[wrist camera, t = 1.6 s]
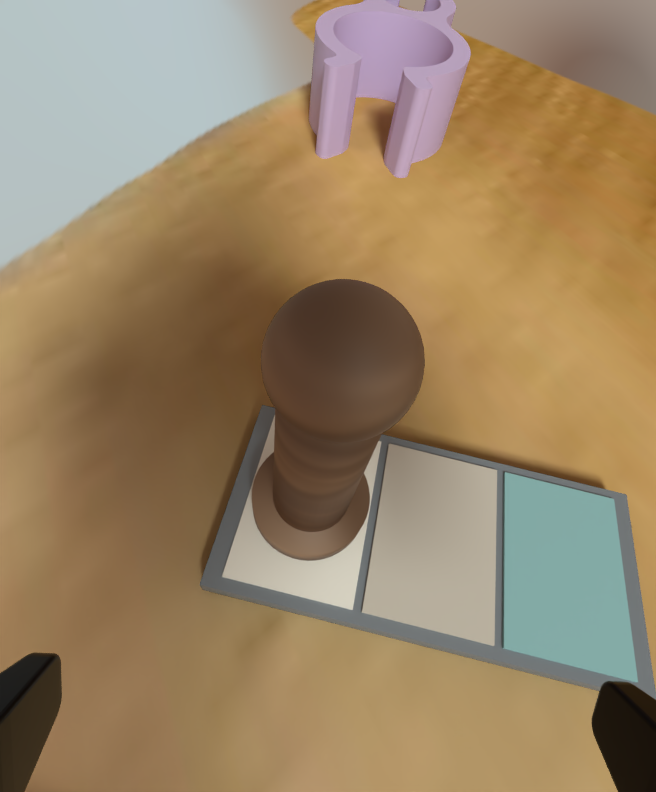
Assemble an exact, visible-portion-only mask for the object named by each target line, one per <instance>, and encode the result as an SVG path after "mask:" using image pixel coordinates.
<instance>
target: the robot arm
mask: <svg viewBox="0 0 656 792" xmlns="http://www.w3.org/2000/svg"><path fill="white" fill-rule="evenodd" d="M61 698H62V686H61V660H60V657H59V656H58V655H57V654H54V653H31V654H29V655H27V656H25V657H24V658H22V659H21V660H19V661H18V662H16V663H15V664H13V665H12V666H10V667H9V668H7V669H6V670H4V671H3V672H1V673H0V792H24V791H25V789H26V787H27V784H28V782H29V780H30V777H31V775H32V773H33V770H34V768H35V766H36V763H37V761H38V759H39V756H40V754H41V752H42V749H43V747H44V745H45V742H46V740H47V738H48V735H49V733H50V731H51V728H52V726H53V724H54V721H55V719H56V717H57V714H58V711H59V708H60V704H61ZM592 729H593V733H594V736H595V739H596V741H597V744H598V746H599V748H600V751H601V753H602V755H603V758H604V760H605V762H606V765H607V767H608V769H609V772H610V774H611V776H612V779H613V781H614V783H615V786H616V788H617V790H618V792H656V700H655V699H654V698H653V697H651V696H650V695H648V694H647V693H645V692H644V691H642V690H641V689H639V688H638V687H636V686H635V685H633V684H632V683H629V682H625V681H605V682H604V683H603V684H602V685H601V688H600V691H599V695H598V698H597V702H596V705H595V709H594V712H593V716H592Z"/></svg>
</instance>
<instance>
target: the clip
mask: <svg viewBox="0 0 656 792" xmlns="http://www.w3.org/2000/svg"><path fill="white" fill-rule="evenodd" d="M399 1H400V0H364V1H363V2H362V3H359V4H354V5H346V6H341V7H337V8H334V9H331V10H329V11H327V12H325V13H324V14H322V15H321V16H320V17H319V19H318V20H317V22H316V29H315V42H314V56H313V69H312V82H311V95H310V108H309V122H310V125H311V128H312V129H313V131H314V133H315V134H316V135H317V142H316V154H317V155H318V156H319V157H320V158H324V159H326V158H330V157H333V156H336V155H339V154H342V153H343V152H344V151H345V150H347V149H348V145H349V138H350V132H351V125H352V118H353V112H354V105H355V99H356V97H371V98H379V99H384V100H388V101H391V102H394V103H396V104H395V108H394V113H393V117H392V122H391V126H390V131H389V135H388V140H387V144H386V149H385V153H384V163H385V165H386V167H387V168H388V169H389V170H390V172H391V173H392V174H393V175H394V176H395V177H397V178H404V177H407V176H408V173H409V170H410V166H411V163H414V162H418V161H421V160H424V159H426V158H428V157H430V156H432V155H433V154H434V153H436V152H437V151H438V149H439V148H440V146H441V145H442V142H443V139H444V136H445V133H446V130H447V126H448V123H449V120H450V117H451V114H452V111H453V108H454V105H455V102H456V99H457V96H458V93H459V90H460V87H461V84H462V80H463V77H464V74H465V71H466V68H467V65H468V62H469V59H470V54H471V53H470V48H469V45H468V44H467V42H466V41H465V39H464V38H463V37H462V36H461V35H460V34H459V33H457V32H456V31H455V30H453V29H452V28H451V24H452V21H453V17H454V14H455V10H456V5H455V3H454V2H453V0H426V2H425V6H424V10H423V12H420V11H419V12H418V11H412V10H407V9H403V8H400V7H398V6H399Z"/></svg>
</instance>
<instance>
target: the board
mask: <svg viewBox="0 0 656 792" xmlns="http://www.w3.org/2000/svg"><path fill="white" fill-rule="evenodd" d="M274 433H275V408H273V407H269V406H265V405H262V407H261V410H260V413H259V415H258V418H257V421H256V424H255V427H254V430H253V433H252V436H251V438H250V441H249V444H248V447H247V450H246V453H245V456H244V458H243V461H242V464H241V467H240V470H239V473H238V476H237V479H236V481H235V484H234V487H233V490H232V493H231V496H230V499H229V501H228V504H227V507H226V510H225V513H224V516H223V519H222V522H221V524H220V527H219V530H218V533H217V536H216V539H215V542H214V544H213V547H212V550H211V553H210V556H209V559H208V562H207V565H206V567H205V570H204V573H203V576H202V579H201V582H200V586H201V588H202V589H203V590H206V591H210V592H214V593H218V594H222V595H226V596H230V597H234V598H237V599H241V600H245V601H249V602H253V603H257V604H261V605H265V606H269V607H273V608H277V609H280V610H284V611H288V612H292V613H296V614H300V615H304V616H308V617H312V618H316V619H320V620H324V621H327V622H331V623H335V624H339V625H343V626H347V627H351V628H355V629H359V630H363V631H367V632H371V633H374V634H378V635H382V636H386V637H390V638H394V639H398V640H402V641H406V642H410V643H414V644H417V645H421V646H425V647H429V648H433V649H437V650H441V651H445V652H449V653H453V654H457V655H461V656H464V657H468V658H472V659H476V660H480V661H484V662H488V663H492V664H496V665H500V666H504V667H508V668H511V669H515V670H519V671H523V672H527V673H531V674H535V675H539V676H543V677H547V678H551V679H554V680H558V681H562V682H566V683H570V684H574V685H578V686H582V687H586V688H590V689H594V690H598V691H600V688H601V685H602V684H603V683H604V682H605V681H625V682H629V683H632V684H633V685H635V686H636V687H638V688H639V689H641V690H642V691H644V692H645V693H647V694H648V695H650V696H651V697H653V698H654V699H655V700H656V692H655V685H654V678H653V672H652V665H651V658H650V651H649V645H648V638H647V631H646V624H645V617H644V611H643V604H642V597H641V590H640V583H639V577H638V570H637V563H636V556H635V550H634V543H633V536H632V529H631V522H630V516H629V509H628V502H627V495H626V494H622V493H618V492H614V491H610V490H606V489H602V488H597V487H593V486H589V485H585V484H581V483H577V482H573V481H569V480H565V479H561V478H557V477H553V476H549V475H545V474H541V473H537V472H533V471H529V470H524V469H520V468H516V467H512V466H508V465H504V464H500V463H496V462H492V461H488V460H484V459H480V458H476V457H472V456H468V455H464V454H460V453H456V452H452V451H447V450H443V449H439V448H435V447H431V446H427V445H423V444H419V443H415V442H411V441H407V440H403V439H399V438H395V437H391V436H387V435H383V434H382V435H381V437H380V439H379V441H378V443H377V446H376V448H375V450H374V452H373V454H372V456H371V459H370V461H369V463H368V465H367V467H366V469H365V472H364V474H365V477H366V479H367V482H368V486H369V493H370V504H369V511H368V514H367V517H366V520H365V522H364V524H363V526H362V527H361V529H360V531H359V532H358V534H357V535H356V537H355V539H354V540H353V541H352V542H351V543H350V544H349V545H348V546H347V547H346V548H345V549H344V550H342V551H341V552H339V553H337V554H335V555H333V556H331V557H328V558H325V559H321V560H314V561H305V560H298V559H294V558H291V557H288V556H285V555H284V554H282V553H280V552H278V551H277V550H276V549H274V548H273V547H272V546H271V545H270V544H269V543H267V541H266V540H265V539H264V538H263V536H262V535H261V533H260V531H259V530H258V528H257V525H256V523H255V519H254V515H253V508H252V487H253V482H254V479H255V476H256V474H257V472H258V470H259V468H260V466H261V465H262V463H263V462H264V461H265V460H266V459H267V458H268V457H269V456H270V455H271V454H272V453H273V452H274Z"/></svg>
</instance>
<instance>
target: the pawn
mask: <svg viewBox="0 0 656 792" xmlns="http://www.w3.org/2000/svg"><path fill="white" fill-rule="evenodd" d="M424 366H425V359H424V347H423V343H422V339H421V335H420V333H419V330H418V327H417V325H416V324H415V322H414V320H413V318H412V317H411V315H410V314H409V312H408V311H407V309H406V308H405V307H404V306H403V305H402V304H401V303H400V302H399V301H398V300H397V299H395V298H394V297H393V296H392V295H391V294H389V293H388V292H386V291H384V290H383V289H381V288H379V287H377V286H374V285H372V284H369V283H366V282H362V281H358V280H350V279H336V280H329V281H324V282H321V283H317V284H314V285H312V286H309V287H307V288H305V289H303V290H302V291H300V292H298V293H297V294H296V295H294V296H293V297H291V298H290V299H289V300H288V301H287V302H286V303H285V304H284V305H283V306H282V307H281V308H280V309H279V311H278V312H277V313H276V315H275V316H274V318H273V320H272V321H271V323H270V325H269V327H268V329H267V332H266V335H265V338H264V341H263V346H262V352H261V370H262V377H263V382H264V385H265V388H266V391H267V394H268V396H269V398H270V400H271V402H272V404H273V405H274V406H275V433H274V452H273V453H272V454H271V455H270V456H269V457H268V458H267V459H266V460H265V461H264V462H263V463H262V465H261V466H260V468H259V470H258V472H257V474H256V476H255V479H254V482H253V487H252V508H253V515H254V519H255V523H256V525H257V528H258V530H259V531H260V533H261V535H262V536H263V538H264V539H265V540H266V541H267V543H269V544H270V545H271V546H272V547H273V548H274V549H276V550H277V551H278V552H280V553H282V554H284V555H285V556H288V557H291V558H294V559H298V560H305V561H314V560H321V559H325V558H328V557H331V556H333V555H335V554H337V553H339V552H341V551H342V550H344V549H345V548H346V547H347V546H348V545H349V544H350V543H351V542H352V541H353V540H354V539H355V537H356V535H357V534H358V532H359V531H360V529H361V527H362V526H363V524H364V522H365V520H366V517H367V514H368V511H369V504H370V493H369V486H368V482H367V479H366V477H365V474H364V472H365V469H366V467H367V465H368V463H369V461H370V459H371V456H372V454H373V452H374V450H375V448H376V446H377V443H378V441H379V439H380V437H381V435H382V433H383V432H385V431H387V430H388V429H390V428H391V427H392V426H393V425H395V424H396V423H397V422H398V421H399V420H400V419H401V418H402V417H403V416H404V415H405V414H406V413H407V411H408V410H409V408H410V407H411V405H412V404H413V402H414V401H415V399H416V397H417V394H418V392H419V390H420V387H421V383H422V380H423V374H424Z"/></svg>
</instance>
